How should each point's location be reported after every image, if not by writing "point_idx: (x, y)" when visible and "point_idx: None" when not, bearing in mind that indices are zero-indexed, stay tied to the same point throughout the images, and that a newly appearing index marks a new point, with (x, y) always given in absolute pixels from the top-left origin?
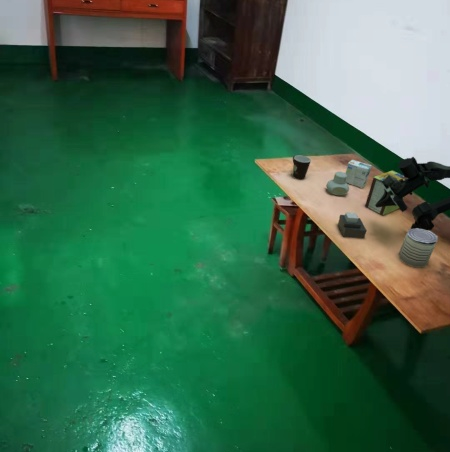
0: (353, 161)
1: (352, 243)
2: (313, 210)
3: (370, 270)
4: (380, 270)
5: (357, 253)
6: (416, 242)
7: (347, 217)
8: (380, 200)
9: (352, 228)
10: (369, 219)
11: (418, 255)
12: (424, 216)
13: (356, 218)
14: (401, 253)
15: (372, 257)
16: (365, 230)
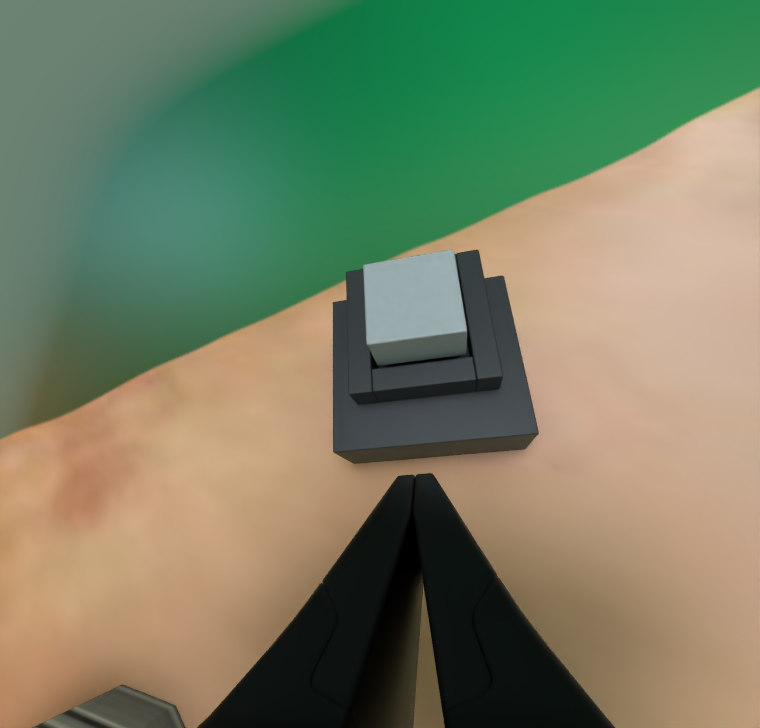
0: None
1: (290, 377)
2: (633, 182)
3: (61, 434)
4: (49, 492)
5: (197, 391)
6: None
7: (379, 266)
8: (424, 562)
9: (347, 347)
10: (705, 597)
11: None
12: None
13: (366, 330)
14: (78, 706)
15: (157, 473)
16: (333, 443)
